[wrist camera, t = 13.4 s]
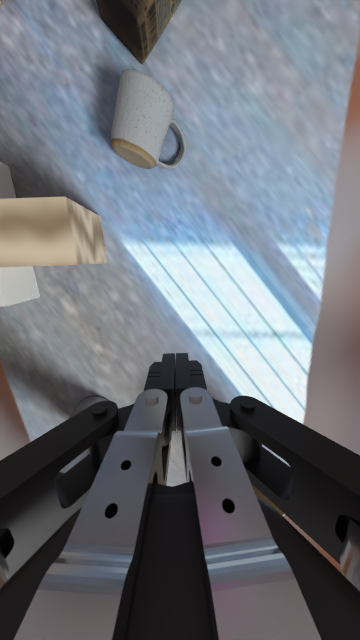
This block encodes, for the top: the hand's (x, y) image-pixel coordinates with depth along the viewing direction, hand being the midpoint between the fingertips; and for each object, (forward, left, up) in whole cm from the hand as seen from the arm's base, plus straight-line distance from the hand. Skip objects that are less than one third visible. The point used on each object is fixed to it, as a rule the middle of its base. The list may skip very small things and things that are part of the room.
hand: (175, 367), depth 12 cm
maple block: (+10, +20, -29) cm, 37 cm away
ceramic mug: (+25, +3, -29) cm, 38 cm away
